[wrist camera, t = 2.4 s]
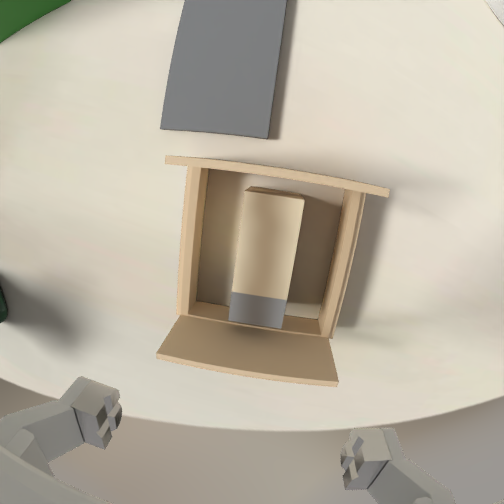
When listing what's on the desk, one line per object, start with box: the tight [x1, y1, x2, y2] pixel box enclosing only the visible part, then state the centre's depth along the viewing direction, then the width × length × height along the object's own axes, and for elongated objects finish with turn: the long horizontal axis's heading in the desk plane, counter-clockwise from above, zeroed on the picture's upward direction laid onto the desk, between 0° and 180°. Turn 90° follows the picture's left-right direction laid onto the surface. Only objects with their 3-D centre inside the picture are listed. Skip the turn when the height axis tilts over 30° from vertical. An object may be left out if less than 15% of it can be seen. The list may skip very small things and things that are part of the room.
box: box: [228, 186, 305, 329], centre depth 30 cm, size 5×12×6 cm, turn 172°
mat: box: [160, 0, 287, 139], centre depth 27 cm, size 11×18×1 cm, turn 172°
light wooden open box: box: [156, 156, 390, 387], centre depth 28 cm, size 17×17×11 cm
